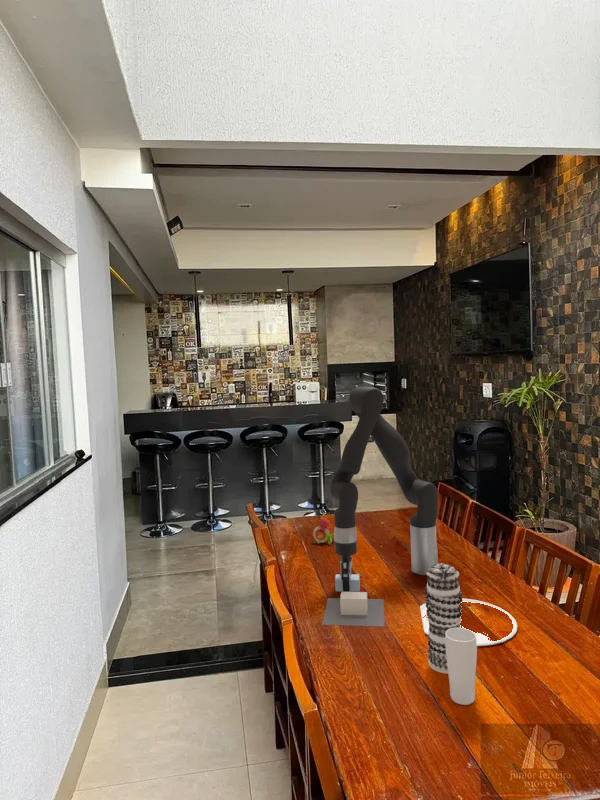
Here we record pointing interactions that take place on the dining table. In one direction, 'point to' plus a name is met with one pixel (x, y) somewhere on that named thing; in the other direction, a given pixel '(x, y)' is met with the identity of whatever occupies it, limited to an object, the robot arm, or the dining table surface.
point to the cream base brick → (353, 603)
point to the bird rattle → (320, 534)
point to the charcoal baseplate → (371, 619)
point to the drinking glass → (461, 664)
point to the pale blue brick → (353, 582)
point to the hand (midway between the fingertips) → (347, 586)
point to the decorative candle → (441, 611)
